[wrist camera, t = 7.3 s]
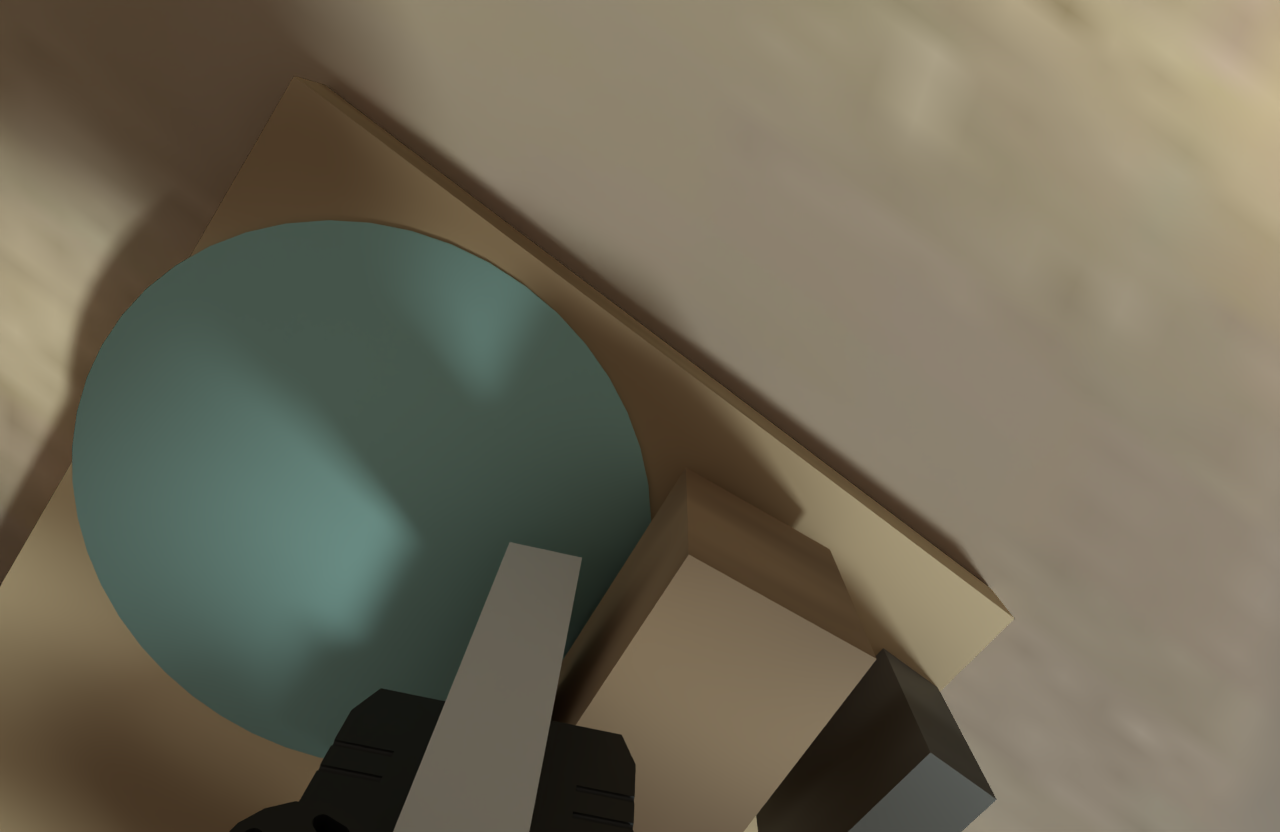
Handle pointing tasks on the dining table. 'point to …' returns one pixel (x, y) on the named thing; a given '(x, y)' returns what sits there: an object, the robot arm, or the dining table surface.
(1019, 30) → the dining table surface
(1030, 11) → the dining table surface
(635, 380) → the oak board
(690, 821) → the leg bar
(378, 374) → the felt pad
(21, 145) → the dining table surface
